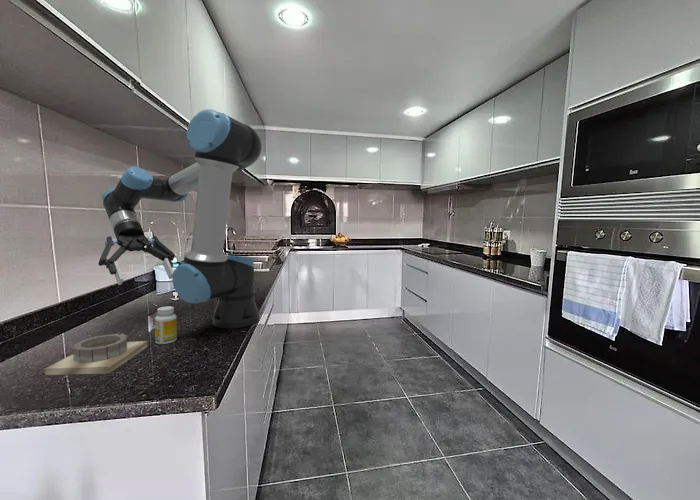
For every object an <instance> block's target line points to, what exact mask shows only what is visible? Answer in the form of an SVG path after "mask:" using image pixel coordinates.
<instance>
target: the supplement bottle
mask: <svg viewBox="0 0 700 500" xmlns="http://www.w3.org/2000/svg"><path fill="white" fill-rule="evenodd" d="M156 311H157V312H156V313H157V315H156V316H155V317H154V342H155V344H157V345H166V344H172V343H174V342H176V341H177V339H178V324H177V323H178V322H177V321H178V320H177V319H178V316H177V314H176V313H174V312H175V307H174V306H170V305H169V306H161V307H159V308H157V310H156Z"/></svg>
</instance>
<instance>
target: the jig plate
mask: <svg viewBox="0 0 700 500" xmlns="http://www.w3.org/2000/svg"><path fill="white" fill-rule="evenodd" d="M127 337H128V336H127V335H125V334H118V333H115V334H114V333H113V334H111V333H109V334H104V335H97V336H93V337H89V338H86V339H85V338H84V339H83V340H80V341H79V342H75V343H74V345H73V347H72V354H71V355H68V356H66V357H65V358H63V359H60V360H59V361H57V362H55V363H53V364H51V365H49V366H47V367H45V368H44V371H45V372H44V374H45V376H65V375H66V376H68V375H72V376H73V375H97V374H98V375H99V374H101V375H102V374H103V375H104V374H105V375H106V374H111V373H112V372H113V371H115V370H117V369H118V368H120V367H121V366H122V365H123V364H125V363H127V362H128V361H129V360H131V359H133V357H135V356H136V355H138V354H140V353H141V352H142V351H144V350H145V349H147V347H148V341H146V340H145V341H142V340H141V341H127Z"/></svg>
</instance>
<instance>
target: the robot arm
mask: <svg viewBox="0 0 700 500" xmlns="http://www.w3.org/2000/svg"><path fill="white" fill-rule="evenodd" d="M186 129H187V131H186V139H187V142H188V144H189V146H190V148H191V149H192V150H193V151H195V153H194V160H195V161H196V162H195V163H193V164H191V165H189V166H188V167H186V168H183V169H182V170H180V171H178V172H176V173H174V174H173V175H171V176H169V177H167V178H159V177H153V176H152V174H151V173H150V172H149V171H147V170H146V169H143V168H141V167H139V166H130V167H129V168H127V169H126V171H125V172H124V173H123V174H122V175H121V177H120V180H119V181H118V183H117V184H116V186H115V188H109V189H108V190H104V192H103V193H102V194H101V200H102V203H103V208H104V209H105V211H106V215H107V217H108V219H109V223H110V225H111V228H112V231H113V233H114V236H115V238H113V237H112V236H107V237H106V239H105V243H104V245H105V247H104V249H103V251H102V254H101V255H100V258H99V261H98V264H97V265H98V266H100V267H101V266H105V268H106V269H108V271H109V274H110V275H114V277H115V280H116V283H117V285H118V286H121V285H122V284H123V281H124V279H125V278H124V277H123V273H122V270H121V268H120V265H119V263H118V259H120V258H121V256H122V255H123V254H125V252H127V251H129V252H141V251H142V252H144V253H148V254H150V255H152V256H153V257H155V258H156V259H158V260H160V261H162V266H163V268H164V270H165V272H166V275H167V277H168V280H171V279H172V280H171V281H172V286H173V288H174V291H175V292H176V294H177V295H178V297H180V299H182V300H183V301H184V302H187V303H188V304H198V303H205V302H207V301H209V300H213V299H217V301H216V302H217V303H216V306H215V309H214V312H213V315H212V325H213V327H216V328H220V329H240V328H246V327H250V326H252V325H255V324H257V323H258V322H259V321H260V312H259V309H258V306H257V304H256V300H255V267H254V265H255V264H254V259H253V258H252V257H251V256H243V255H231V254H230V255H229V254H228V255H227V254H225V253H224V247H225V245H224V244H225V239H226V238H225V237H226V230H227V229H226V228H227V222H228V221H227V220H228V213H229V205H230V197H231V190H232V189H231V188H232V181H233V180H232V179H233V173H234V172H241V171H242V170H245V169H247V168H248V167H250V166H252V165H253V164H255V162H257V160H258V159H259V158H260V156H261V153H262V142H261V138H260V136H259V134H258V132H256V130H255V129H254V128H252V127H251V126H250V125H248V124H245V123H242V122H241V121H239V120H237V119H235V118H233V117H231V116H230V115H227V114H225V113H224V112H220V111H217V110H214V109H210V108H209V109H208V108H207V109H204V110H203V109H202V110H200V111H198V112H197V113H196V114H195V115H194V116H193V117H192V118H191V120H190V122H189V123H188V126H187V128H186ZM195 190H197V192H196V200H195V210H194V219H193V226H192V227H193V228H192V238H191V247H190V250H188V251H187V252H185V254H184V255H183V256H184V258H183V263H182V264H179V265H178V266H176V268H174V264H173V261H174V260H175V257H176V254H175V253H174V252H173V251H172V250H170V248H169V247H167V246H166V245H165V244H163V242H161V241H160V240H159V238H158V237H157V236H156V235H153V236H152V237H149V238H148V237H146V235H145V231H144V229H143V227H142V225H141V222H140V220H139V217H138V215H137V213H136V211H135V208H136V207H137V205H138V204H139V202H140V201H141V200H142V199H147V200H156V201H158V200H159V201H167V202H172V203H173V202H174V203H175V202H179V203H180V202H183V201H185V200H186V198H187V197H188V195H189V193H191V192H192V191H195ZM115 244H117V245H118V246H119V248H118V249H117V250H115V252H114V253H113V254H112V255H111V256H110V257H109V258H108V256H109V253H110V251H111V247H113V246H115ZM173 268H174V269H173Z"/></svg>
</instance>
